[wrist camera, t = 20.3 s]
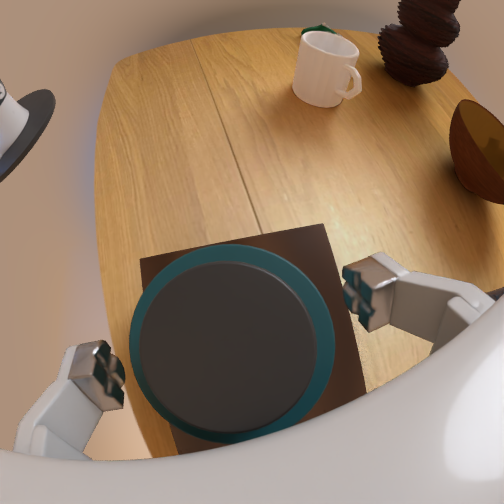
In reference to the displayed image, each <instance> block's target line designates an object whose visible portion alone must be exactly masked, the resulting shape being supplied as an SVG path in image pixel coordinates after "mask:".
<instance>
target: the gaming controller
mask: <svg viewBox="0 0 504 504" xmlns="http://www.w3.org/2000/svg"><path fill="white" fill-rule="evenodd" d="M310 31H322V32H328V33H332V34H336V35H338V36H341V35H340V34H339V33H338V34H337V33H336V32H334V31H333V30H331V29H330V28H329V27H328V26H327V25H326V24H325V23H323V24H321V25H319V26H315V27H309V28H306V29H304V30H303V31H302V32H301V34H302V35H303V34H304V33H306V32H310ZM341 37H342V36H341Z"/></svg>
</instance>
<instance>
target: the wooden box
mask: <svg viewBox="0 0 504 504" xmlns="http://www.w3.org/2000/svg"><path fill="white" fill-rule="evenodd" d="M222 244H240V245H248V246H253V247H257V248H261V249H264V250H267V251H269V252H272V253H275V254H277V255H279V256H280V257H282V258H284V259H286V260H288V261H289V262H290V263H292V264H293V265H295V266H296V267H297V268H299V269H300V270H301V271H302V272H303V273H304V274H305V275H306V276H307V277H308V278H309V279H310V280H311V282H312V283H313V284H314V285H315V286H316V288H317V289H318V291H319V292H320V294H321V296H322V297H323V299H324V301H325V303H326V305H327V308H328V310H329V313H330V316H331V319H332V322H333V328H334V334H335V356H334V364H333V368H332V372H331V376H330V378H329V381H328V383H327V386H326V388H325V390H324V392H323V393H322V395H321V397H320V399H319V400H318V401H317V403H316V404H315V405H314V407H313V408H312V409H311V410H310V411H309V412H308V413H307V414H306V415H305V416H304V417H303V418H302V419H301V420H300V421H299V422H297V423H296V424H295V425H297V424H300V423H302V422H305V421H307V420H310V419H312V418H315V417H317V416H320V415H322V414H324V413H327V412H329V411H331V410H334V409H336V408H338V407H340V406H342V405H345V404H347V403H349V402H351V401H353V400H355V399H357V398H359V397H361V396H363V395H365V394H367V392H366V387H365V382H364V376H363V371H362V366H361V361H360V357H359V352H358V347H357V343H356V339H355V334H354V330H353V326H352V322H351V318H350V314H349V310H348V308H347V306H346V304H345V302H344V298H343V291H342V288H343V287H342V283H341V280H340V276H339V273H338V269H337V266H336V263H335V259H334V256H333V253H332V249H331V246H330V243H329V240H328V236H327V233H326V230H325V227H324V224H323V223H322V224H316V225H311V226H305V227H300V228H294V229H289V230H283V231H278V232H273V233H267V234H262V235H257V236H252V237H246V238H241V239H236V240H231V241H226V242H220V243H215V244H210V245H205V246H200V247H195V248H190V249H185V250H180V251H175V252H170V253H166V254H161V255H156V256H151V257H146V258H141V259H140V268H141V278H142V287H143V292H144V291H145V289H146V287H147V286H148V285H149V284H150V282H151V281H152V280H153V279H154V277H155V276H156V275H157V274H158V273H159V272H161V271H162V270H163V269H164V268H165V267H166V266H168V265H169V264H170V263H172V262H173V261H174V260H176V259H178V258H180V257H181V256H183V255H185V254H187V253H190V252H192V251H195V250H197V249H201V248H205V247H208V246H214V245H222ZM169 424H170V423H169ZM293 426H294V425H293ZM170 427H171V431H172V434H173V437H174V441H175V444H176V447H177V450H178V453H179V455H182V454H188V453H194V452H200V451H205V450H210V449H214V448H219V447H223V446H228V445H232V444H221V443H213V442H209V441H205V440H202V439H198V438H196V437H194V436H191V435H189V434H187V433H185V432H183V431H181V430H180V429H178V428H176V427H174V426H173V425H172V424H170Z"/></svg>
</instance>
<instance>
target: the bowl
mask: <svg viewBox="0 0 504 504" xmlns="http://www.w3.org/2000/svg"><path fill="white" fill-rule="evenodd" d="M449 145H450V151H451V156H452V159H453V162H454V165H455V172H456V175H457V177H458V179H459V181H460V182H461V183H462V185H463V186H464V187H465V188H466V189H467V190H469V191H470V192H473V193H476V194H477V195H478V196H480V197H482V198H483V199H485V200H488V201H490V202H493V203H497V204H503V205H504V125H503V124H502V123H501V122H500V121H499V120H498V119H497V118H496V117H495V116H494V115H493V114H492V113H491V112H489V111H488V110H487V109H485V108H484V107H483V106H481V105H480V104H478V103H476V102H474V101H471V100H467V99H464V100H461V101H460V102H459V104H458V105H457V107H456V109H455V111H454V113H453V117H452V120H451V125H450V134H449Z"/></svg>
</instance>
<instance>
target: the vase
mask: <svg viewBox="0 0 504 504" xmlns="http://www.w3.org/2000/svg"><path fill="white" fill-rule="evenodd" d="M401 1H402V2H398V3H399V5H400V6H398V8H399V10H400V11H397V12H398V14H399V16H398V18H399V19H400V21H399V22H400V24H402V25H395V24H390V25H389V26H387V25H386V26H385V29H384V28H381V30H382V32H379V34H380V35H381V36H378V39H379V42H378V44H379V45H380V46H378V48H379V50H380V51H381V55H382V56H383V58H382V59H383V60H384V62H385V63H384V64H385V70H386V71H387V72H388V73H389V74H390V75H391V76H392V77H393V78H394V79H396V80H398V81H400V82H401V83H403V84H404V85H408V86H412V87H416V86H417V85H421V84H423V83H424V84H427V83H431V82H435V81H438V80H440V79H441V77H443V76H444V75H445V74H446V71H447V68H448V67H449V66H448V63H447V62H448V60H447V59H446V56H445V55H444V53H443V51H442V50H441V49H440V47H446V46H447V47H448V46H449V44H451V43H453V41H455V38H456V37H458V35H459V31H460V25H459V23H458V21H457V20H456V18H455V16H454V14H453V13H454V12H455V9H457V8H458V5H459V1H461V0H401Z"/></svg>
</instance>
